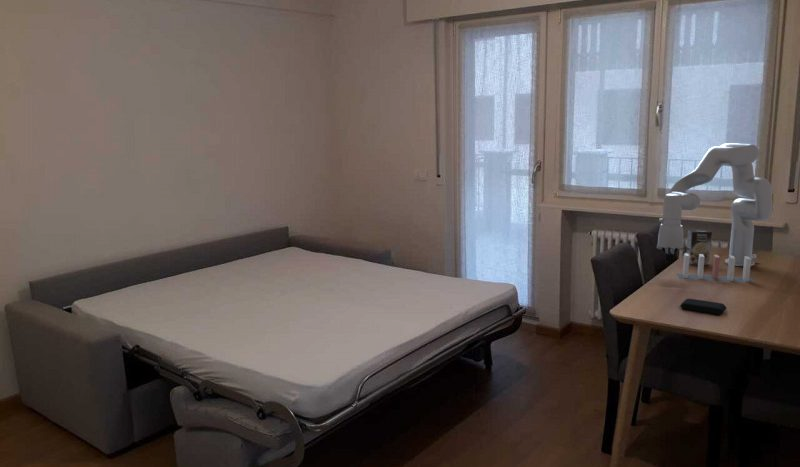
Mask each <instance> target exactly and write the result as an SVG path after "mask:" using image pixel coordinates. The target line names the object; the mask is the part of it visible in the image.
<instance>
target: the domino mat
mask: <svg viewBox="0 0 800 467" xmlns="http://www.w3.org/2000/svg"><path fill="white" fill-rule="evenodd" d="M676 276H677V277H678V279H681V280H682V279H683V280H695V281H696V280H699V281H711V282H712V281H713V282H717V281H718V282H730V283H731V282H732V283H745V284H746V283H748V284H756V282H755V281H754V279H752V278H751V277H749V282H745V281H744V280H743V279H742V277H739V276H734V278H733V281H729V280H728V278H727V276H721V275H720V276H719V275H718V280H714V279H713V278H712V275H704V274H703V279H699V278H698V276H697V274H690V273H688V278H684V277H683V273H676Z"/></svg>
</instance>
